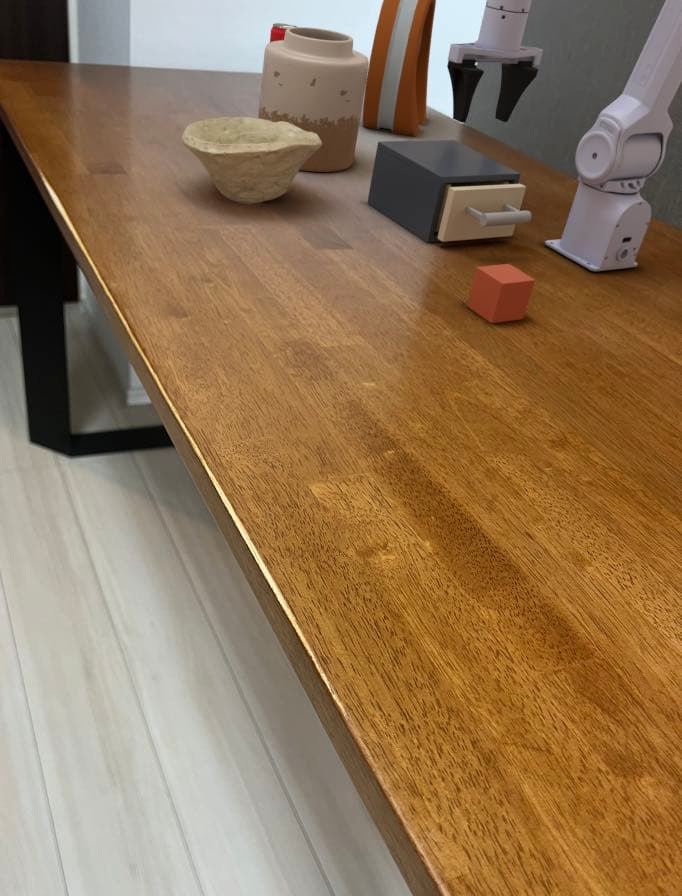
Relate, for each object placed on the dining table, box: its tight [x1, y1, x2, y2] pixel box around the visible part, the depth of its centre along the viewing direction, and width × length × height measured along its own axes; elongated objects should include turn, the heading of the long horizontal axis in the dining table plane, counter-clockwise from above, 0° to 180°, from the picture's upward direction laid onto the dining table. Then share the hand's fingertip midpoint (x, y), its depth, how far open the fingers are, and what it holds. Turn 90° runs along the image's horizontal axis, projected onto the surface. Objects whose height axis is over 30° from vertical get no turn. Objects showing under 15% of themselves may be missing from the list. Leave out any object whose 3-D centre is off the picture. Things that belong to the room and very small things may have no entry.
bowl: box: [181, 116, 322, 205], centre depth 112 cm, size 14×18×15 cm
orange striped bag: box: [362, 0, 437, 137], centre depth 149 cm, size 22×10×23 cm, turn 165°
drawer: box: [435, 180, 532, 243], centre depth 110 cm, size 18×11×6 cm, turn 27°
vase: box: [257, 26, 370, 173], centre depth 127 cm, size 15×15×17 cm
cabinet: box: [367, 139, 521, 244], centre depth 114 cm, size 15×13×8 cm
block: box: [466, 263, 536, 324], centre depth 92 cm, size 4×4×4 cm
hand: (480, 120), depth 121 cm, fingers open, 7 cm apart
